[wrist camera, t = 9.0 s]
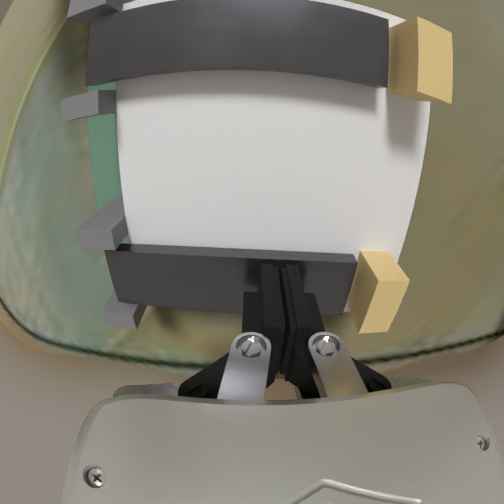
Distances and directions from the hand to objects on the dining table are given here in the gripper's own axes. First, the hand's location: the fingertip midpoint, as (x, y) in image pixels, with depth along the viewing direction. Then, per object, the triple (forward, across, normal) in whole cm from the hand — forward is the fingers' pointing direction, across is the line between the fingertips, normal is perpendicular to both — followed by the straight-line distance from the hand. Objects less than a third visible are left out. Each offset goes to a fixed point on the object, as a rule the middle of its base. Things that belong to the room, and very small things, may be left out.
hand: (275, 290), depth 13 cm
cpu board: (+6, +1, -6) cm, 8 cm away
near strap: (+1, +2, -11) cm, 11 cm away
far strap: (+1, +2, 0) cm, 2 cm away
